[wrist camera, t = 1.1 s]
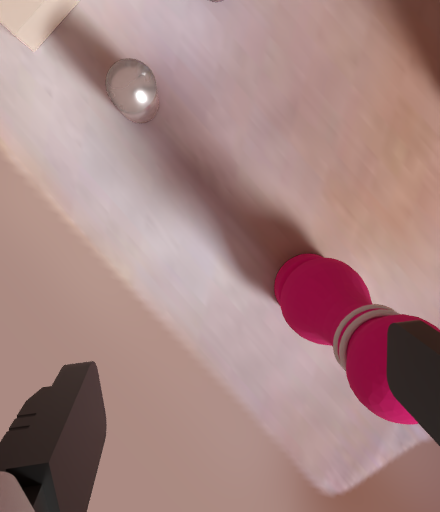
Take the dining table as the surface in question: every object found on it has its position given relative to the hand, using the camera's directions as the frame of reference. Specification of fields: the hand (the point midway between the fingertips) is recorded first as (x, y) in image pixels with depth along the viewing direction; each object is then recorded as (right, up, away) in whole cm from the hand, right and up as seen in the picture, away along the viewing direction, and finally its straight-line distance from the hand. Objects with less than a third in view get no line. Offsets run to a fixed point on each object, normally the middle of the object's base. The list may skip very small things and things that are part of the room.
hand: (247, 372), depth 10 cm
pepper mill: (+7, 0, +27) cm, 28 cm away
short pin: (-7, +16, +21) cm, 27 cm away
